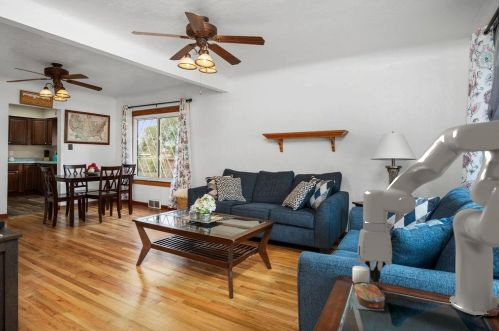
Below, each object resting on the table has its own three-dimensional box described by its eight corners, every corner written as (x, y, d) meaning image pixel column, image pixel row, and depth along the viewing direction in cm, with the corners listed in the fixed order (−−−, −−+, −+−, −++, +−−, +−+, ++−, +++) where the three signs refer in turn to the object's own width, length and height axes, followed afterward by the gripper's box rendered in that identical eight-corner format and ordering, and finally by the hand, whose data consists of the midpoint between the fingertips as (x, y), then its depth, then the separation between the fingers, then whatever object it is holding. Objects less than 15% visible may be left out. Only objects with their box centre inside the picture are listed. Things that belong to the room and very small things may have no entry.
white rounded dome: (366, 281, 114) (366, 266, 114) (371, 287, 108) (371, 271, 108) (350, 280, 115) (350, 265, 114) (354, 287, 109) (354, 271, 109)
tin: (388, 302, 91) (360, 298, 92) (387, 312, 91) (359, 308, 92) (375, 282, 105) (351, 279, 107) (374, 291, 106) (350, 288, 107)
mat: (370, 291, 105) (370, 290, 105) (384, 310, 91) (384, 309, 91) (347, 290, 106) (347, 289, 106) (358, 309, 92) (358, 308, 92)
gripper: (393, 224, 101) (393, 277, 101) (349, 224, 102) (349, 275, 103) (402, 229, 94) (402, 286, 94) (355, 228, 95) (354, 284, 95)
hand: (374, 280), depth 98 cm, fingers closed
